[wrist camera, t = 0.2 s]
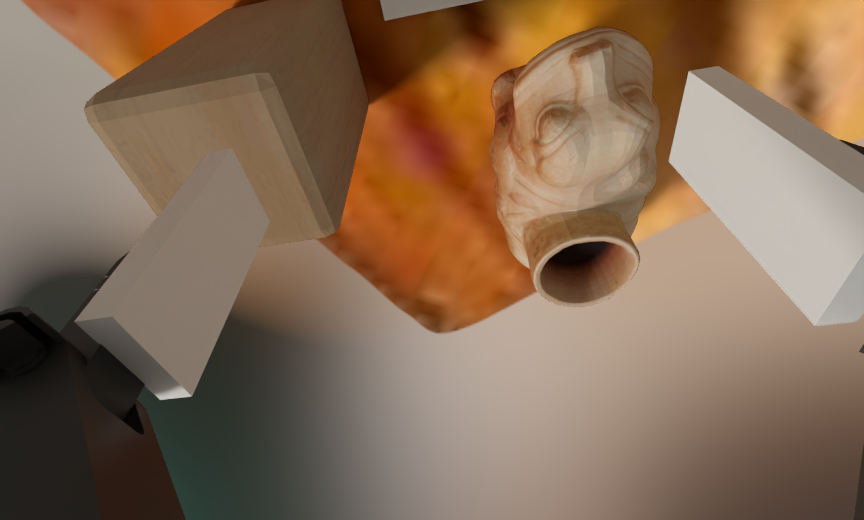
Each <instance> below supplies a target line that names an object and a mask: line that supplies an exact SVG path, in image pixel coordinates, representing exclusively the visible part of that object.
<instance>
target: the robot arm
mask: <svg viewBox="0 0 864 520" xmlns="http://www.w3.org/2000/svg"><path fill="white" fill-rule="evenodd" d="M669 163H670V164H671V165H672V166H673V167H674V168H675V169H676V170H677V172H678V173H679V174H680V175H681V176H682V177H683V178H684V179H685V181H686V182H687V183H688V184H689V185H690V186H691V187H692V188H693V190H694V191H695V192H696V193H697V194H698V195H699V196H700V197H701V199H702V200H703V201H704V202H705V203H706V204H707V205H708V206H709V208H710V209H711V210H712V211H713V212H714V213H715V214H716V215H717V216H718V218H719V219H720V220H721V221H722V222H723V223H724V224H725V225H726V227H727V228H728V229H729V230H730V231H731V232H732V233H733V234H734V236H735V237H736V238H737V239H738V240H739V241H740V242H741V243H742V244H743V246H744V247H745V248H746V249H747V250H748V251H749V252H750V254H751V255H752V256H753V257H754V258H755V259H756V260H757V261H758V262H759V264H760V265H761V266H762V267H763V268H764V269H765V270H766V272H767V273H768V274H769V275H770V276H771V277H772V278H773V279H774V281H775V282H776V283H777V284H778V285H779V286H780V287H781V288H782V289H783V291H784V292H785V293H786V294H787V295H788V296H789V297H790V298H791V300H792V301H793V302H794V303H795V304H796V305H797V306H798V307H799V309H800V310H801V311H802V312H803V313H804V314H805V315H806V316H807V318H808V319H809V320H810V321H811V322H812V323H813V324H814V325H815V326H820V325H829V324H839V323H848V322H856V321H858V320H859V318H860V317H861V316H862V314H863V313H864V147H861V146H858V145H855V144H852V143H849V142H846V141H843V140H838V139H837V138H835V137H833V136H832V135H830V134H828V133H827V132H825V131H824V130H822V129H820V128H819V127H817V126H815V125H814V124H812V123H811V122H809V121H807V120H806V119H804V118H802V117H801V116H799V115H798V114H796V113H794V112H793V111H791V110H789V109H788V108H786V107H784V106H783V105H781V104H780V103H778V102H776V101H775V100H773V99H771V98H770V97H768V96H767V95H765V94H763V93H762V92H760V91H758V90H757V89H755V88H754V87H752V86H750V85H749V84H747V83H745V82H744V81H742V80H740V79H739V78H737V77H736V76H734V75H732V74H731V73H729V72H727V71H726V70H724V69H723V68H721V67H719V66H715V67H709V68H703V69H697V70H692V71H689V72H688V77H687V81H686V85H685V90H684V94H683V99H682V103H681V108H680V112H679V117H678V121H677V126H676V130H675V135H674V139H673V144H672V148H671V153H670V157H669ZM269 223H270V221H269V219H268V217H267V215H266V213H265V211H264V209H263V207H262V205H261V203H260V201H259V199H258V197H257V195H256V194H255V192H254V190H253V188H252V186H251V184H250V182H249V180H248V178H247V176H246V174H245V172H244V170H243V168H242V166H241V164H240V163H239V161H238V159H237V157H236V155H235V153H234V151H233V149H232V148H231V149H225V150H219V151H213V152H208V153H207V155H206V156H205V157H204V158H203V160H202V161H201V162H200V163H199V165H198V166H197V167H196V168H195V170H194V171H193V172H192V174H191V175H190V176H189V177H188V179H187V180H186V181H185V182H184V184H183V185H182V186H181V187H180V189H179V190H178V191H177V192H176V194H175V195H174V196H173V197H172V199H171V200H170V201H169V203H168V204H167V205H166V206H165V208H164V209H163V210H162V211H161V213H160V214H159V215H158V216H157V218H156V219H155V220H154V221H153V223H152V224H151V225H150V226H149V228H148V229H147V230H146V232H145V233H144V234H143V235H142V237H141V238H140V239H139V240H138V242H137V243H136V244H135V245H134V247H133V248H132V249H131V250H130V251H129V252H128V253H127V254H125V256H123V257H122V258H121V259H119V260H118V261H117V262H116V263H115V264H114V266H113V267H112V268H111V269H110V270H109V272H108V273H107V274H106V275H105V279H103V280H101V282H100V283H99V284H98V285H97V287H96V288H95V292H92V293H91V294H90V295H89V297H88V298H87V299H86V300H85V302H84V303H83V304H82V305H81V306H80V308H79V309H78V310H77V312H76V313H75V314H74V315H73V317H72V318H71V319H70V320H69V321H68V323H67V324H66V325H65V326H64V328H63V329H62V330H61V331H60V333H58V332H57V331H56V330H55V329H53V327H51V326H50V325H49V324H48V323H47V322H45V321H44V320H43V319H42V318H41V317H40V316H38V315H37V314H36V313H35V312H34V311H33V310H31V309H30V308H29V307H21V306H19V307H14V308H10V309H6V310H4V311H1V312H0V520H186V519H185V516H184V513H183V510H182V508H181V505H180V502H179V499H178V496H177V494H176V491H175V488H174V486H173V483H172V480H171V477H170V474H169V471H168V468H167V466H166V463H165V460H164V457H163V455H162V452H161V449H160V446H159V444H158V441H157V438H156V435H155V432H154V429H153V427H152V424H151V421H150V418H149V415H148V413H147V410H146V408H145V407H144V406H143V405H142V404H141V403H140V402H139V401H138V400H137V398H138V396H139V394H140V392H141V391H142V389H143V387H144V385H145V386H146V387H147V388H148V389H149V390H150V391H151V392H152V393H153V394H155V395H156V396H157V397H158V398H159V399H160V400H163V399H172V398H181V397H190V396H192V395H193V393H194V390H195V388H196V386H197V383H198V381H199V379H200V377H201V375H202V372H203V370H204V368H205V366H206V363H207V361H208V359H209V357H210V355H211V352H212V350H213V348H214V346H215V343H216V341H217V339H218V337H219V334H220V332H221V330H222V328H223V325H224V323H225V321H226V319H227V317H228V314H229V312H230V310H231V308H232V305H233V303H234V301H235V298H236V296H237V294H238V292H239V290H240V288H241V285H242V283H243V281H244V278H245V276H246V274H247V272H248V270H249V267H250V265H251V263H252V261H253V258H254V256H255V254H256V252H257V249H258V247H259V245H260V243H261V241H262V238H263V236H264V234H265V232H266V229H267V227H268V225H269ZM859 352H861V353H864V345H863V346H862V348H861V349H860V351H859ZM854 520H864V446H863V454H862V462H861V469H860V477H859V484H858V492H857V500H856V507H855V515H854Z"/></svg>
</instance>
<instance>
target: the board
mask: <svg viewBox="0 0 864 520" xmlns="http://www.w3.org/2000/svg"><path fill="white" fill-rule="evenodd" d="M478 1H483V0H380V2H381V7H382V11H383V16H384V20H385V21H387V20H392V19H396V18H401V17H406V16H411V15H416V14H420V13H425V12H430V11H435V10H440V9H444V8H449V7H454V6H459V5H464V4H469V3H473V2H478Z"/></svg>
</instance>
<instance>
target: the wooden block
mask: <svg viewBox="0 0 864 520" xmlns="http://www.w3.org/2000/svg"><path fill="white" fill-rule="evenodd" d="M368 104H369V100H368V96H367V93H366V89H365V85H364V82H363V78H362V74H361V71H360V67H359V64H358V60H357V56H356V53H355V49H354V45H353V42H352V38H351V35H350V31H349V27H348V24H347V20H346V16H345V13H344V9H343V5H342V2H341V0H269V1H264V2H259V3H255V4H250V5H245V6H241V7H236V8H231V9H227V10H225V11H224V12H222V13H221V14H219V15H218V16H216V17H214V18H213V19H211V20H210V21H208V22H207V23H205V24H204V25H202V26H200V27H199V28H197V29H196V30H194V31H193V32H191V33H189V34H188V35H186V36H185V37H183V38H182V39H180V40H179V41H177V42H175V43H174V44H172V45H171V46H169V47H168V48H166V49H165V50H163V51H161V52H160V53H158V54H157V55H155V56H154V57H152V58H150V59H149V60H147V61H146V62H144V63H143V64H141V65H140V66H138V67H136V68H135V69H133V70H132V71H130V72H129V73H127V74H126V75H124V76H122V77H121V78H119V79H118V80H116V81H115V82H113V83H112V84H110V85H108V86H107V87H105V88H104V89H102V90H101V91H99V92H97V93H96V94H95V95H94V96H93V97H92V98H91V99H90V100H89V101H88V102H87V103H86V105H85V108H84V111H85V114H86V117H87V120H88V122H89V124H90V125H91V127H92V128H93V129H94V131H95V132H96V133H97V135H98V136H99V138H100V139H101V140H102V142H103V143H104V144H105V146H106V147H107V148H108V150H109V151H110V152H111V154H112V155H113V157H114V158H115V159H116V160H117V162H118V163H119V165H120V166H121V167H122V169H123V170H124V171H125V173H126V174H127V175H128V177H129V178H130V180H131V181H132V182H133V184H134V185H135V186H136V188H137V189H138V190H139V192H140V193H141V195H142V196H143V197H144V198H145V200H146V201H147V203H148V204H149V205H150V207H151V208H152V209H153V211H154V212H155V214H156V215H157V216H158V215H159V214H160V213H161V211H162V210H163V209H164V208H165V206H166V205H167V204H168V203H169V201H170V200H171V199H172V197H173V196H174V195H175V194H176V192H177V191H178V190H179V189H180V187H181V186H182V185H183V184H184V182H185V181H186V180H187V179H188V177H189V176H190V175H191V174H192V172H193V171H194V170H195V168H196V167H197V166H198V165H199V163H200V162H201V161H202V160H203V158H204V157H205V156H206V155H207V153H208V152H213V151H219V150H225V149H231V148H232V149H233V151H234V153H235V155H236V157H237V159H238V161H239V163H240V164H241V166H242V168H243V170H244V172H245V174H246V176H247V178H248V180H249V182H250V184H251V186H252V188H253V190H254V192H255V194H256V195H257V197H258V199H259V201H260V203H261V205H262V207H263V209H264V211H265V213H266V215H267V217H268V219H269V221H270V223H269V225H268V227H267V229H266V232H265V234H264V236H263V238H262V241H261V243H260V245H259V247H265V246H271V245H278V244H284V243H291V242H297V241H304V240H310V239H317V238H323V237H327V236H329V235H331V234H333V233H335V232H336V231H337V230H338V229H339V227H340V223H341V219H342V214H343V210H344V206H345V202H346V198H347V194H348V189H349V185H350V181H351V177H352V173H353V169H354V165H355V160H356V156H357V152H358V148H359V144H360V140H361V135H362V131H363V127H364V123H365V119H366V115H367V110H368Z"/></svg>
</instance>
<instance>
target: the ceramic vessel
mask: <svg viewBox="0 0 864 520" xmlns="http://www.w3.org/2000/svg"><path fill="white" fill-rule="evenodd" d="M652 93H653V61H652V59H651V56H650V54H649V52H648V50H647V49H646V47H645V46H644V45H643V44H642V43H641V42H640V41H639V40H638V39H636V38H635V37H633V36H632V35H630V34H628V33H627V32H625V31H622V30H618V29H615V28H611V27H595V28H592V29H589V30H586V31H583V32H579V33H576V34H573V35H570V36H568V37H565V38H563V39H561V40H559V41H557V42H555V43H554V44H552V45H551V46H549V47H548V48H546V49H545V50H543V51H542V52H540V53H539V54H538V55H536V56H535V57H534V58H532V59H531V60H530V61H529V62H528V63H527V64H526V65H524V66H521V67H518V68H515V69H512V70H509V71H507V72H505V73H503V74H501V75H500V76H499V77H498V78H497V79H496V80H495V81H494V84H493V86H492V89H491V101H492V106H493V109H494V112H495V128H494V135H493V141H492V143H491V145H490V155H491V161H492V165H493V168H494V170H495V175H496V184H495V188H496V212H497V216H498V218H499V219H500V221H501V223H502V225H503V227H504V229H505V234H506V239H507V242H508V245H509V248H510V250H511V252H512V253H513V255H514V256H515V257H516V258H517V259H518V260H519V262H521V263H522V264H523V265H524V266H526V267H528V268H529V269H530V272H531V278H532V281H533V284H534V287H535V289H536V290H537V291H538V292H539V293H540V294H541V296H543V297H544V298H545V299H547V300H548V301H550V302H552V303H554V304H557V305H560V306H567V307H583V306H590V305H594V304H597V303H599V302H602V301H604V300H607V299H609V298H611V297H612V296H614V295H615V294H617V293H618V292H619V291H620V290H621V289H622V288H624V287H625V286H626V285H627V284H628V283H629V281H630V280H631V279H632V278H633V277H634V275H635V273H636V272H637V270H638V266H639V262H640V256H639V251H638V250H637V248H636V246H635V244H634V243H633V241H632V239H631V235H632V233H633V231H634V229H635V227H636V225H637V221H638V216H639V213H640V211H641V209H642V208H643V206H644V202H645V198H646V195H647V194H648V193H650V192H651V190H652V189H653V187H654V185H655V184H656V182H657V157H656V144H657V142H658V138H659V135H660V120H661V118H660V113H659V108H658V104H657V102H656V100H655V98H654V97H653V95H652Z"/></svg>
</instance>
